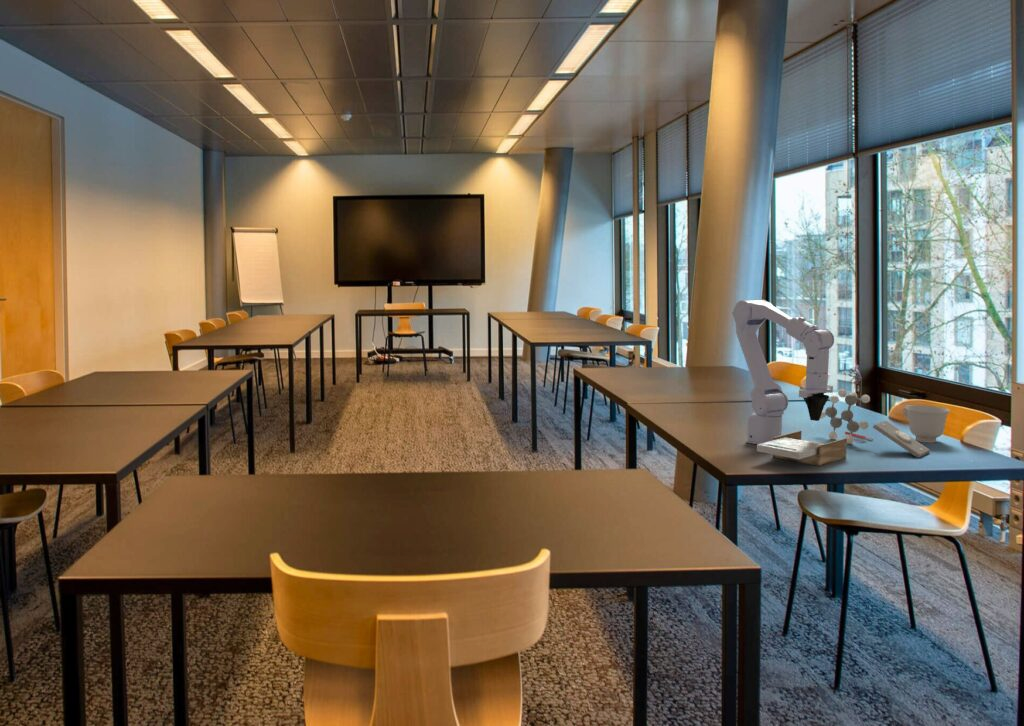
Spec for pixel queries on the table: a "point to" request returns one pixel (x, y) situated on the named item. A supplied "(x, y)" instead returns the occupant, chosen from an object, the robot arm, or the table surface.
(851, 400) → the molecule model
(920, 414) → the teacup
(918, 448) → the light switch
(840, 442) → the oak box
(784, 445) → the cover plate
